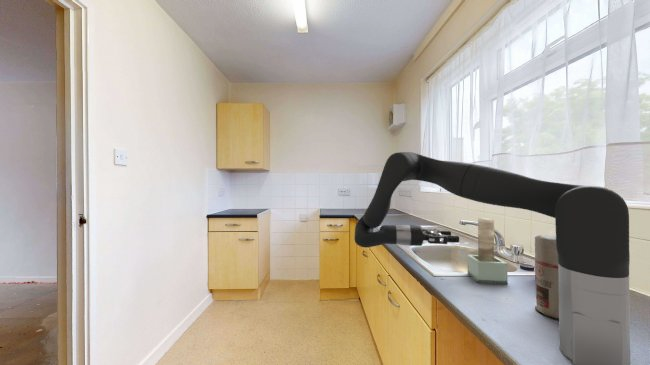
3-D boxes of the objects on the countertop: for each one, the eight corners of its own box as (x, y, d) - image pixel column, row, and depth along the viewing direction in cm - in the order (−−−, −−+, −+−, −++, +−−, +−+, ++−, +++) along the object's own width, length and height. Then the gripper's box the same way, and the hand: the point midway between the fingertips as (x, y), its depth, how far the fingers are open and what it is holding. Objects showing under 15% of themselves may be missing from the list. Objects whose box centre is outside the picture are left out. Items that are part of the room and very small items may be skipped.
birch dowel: (493, 279, 84) (493, 220, 85) (477, 275, 87) (476, 219, 88) (495, 275, 88) (494, 219, 88) (479, 272, 91) (479, 218, 91)
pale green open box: (507, 284, 82) (507, 263, 82) (478, 282, 84) (478, 262, 84) (493, 274, 91) (493, 255, 91) (467, 273, 93) (467, 254, 93)
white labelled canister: (531, 303, 69) (531, 232, 70) (571, 310, 65) (570, 235, 65) (538, 317, 62) (537, 237, 62) (584, 326, 58) (583, 241, 58)
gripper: (411, 228, 85) (462, 229, 83) (405, 222, 99) (448, 223, 97) (411, 250, 85) (462, 252, 82) (405, 240, 99) (448, 242, 97)
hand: (454, 236), depth 90 cm, fingers open, 8 cm apart
